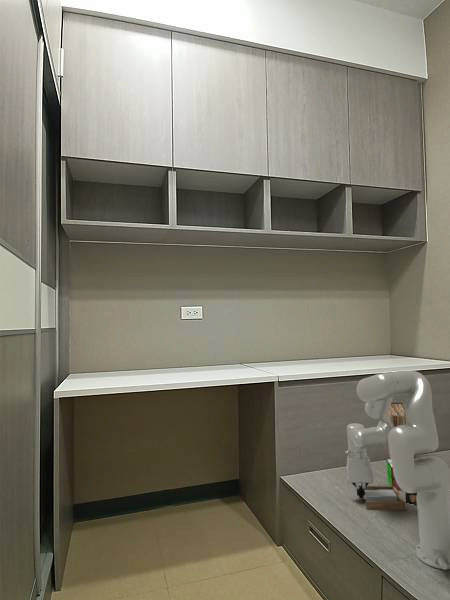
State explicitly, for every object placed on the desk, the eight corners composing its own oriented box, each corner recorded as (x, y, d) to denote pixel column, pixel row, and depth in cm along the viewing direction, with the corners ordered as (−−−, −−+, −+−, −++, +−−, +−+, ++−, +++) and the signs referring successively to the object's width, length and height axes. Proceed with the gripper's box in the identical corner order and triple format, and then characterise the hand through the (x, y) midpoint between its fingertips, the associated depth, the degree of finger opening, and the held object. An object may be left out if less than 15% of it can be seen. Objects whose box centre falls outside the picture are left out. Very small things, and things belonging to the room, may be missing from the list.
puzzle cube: (416, 490, 166) (415, 467, 167) (392, 490, 168) (390, 467, 169) (410, 481, 176) (408, 459, 177) (387, 480, 178) (386, 459, 179)
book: (418, 479, 177) (413, 414, 179) (397, 478, 180) (392, 414, 181) (406, 458, 202) (402, 402, 204) (388, 458, 204) (383, 402, 206)
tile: (397, 504, 156) (396, 496, 156) (382, 504, 157) (381, 496, 157) (393, 497, 162) (392, 489, 162) (378, 497, 163) (378, 489, 163)
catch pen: (405, 510, 151) (405, 502, 151) (366, 509, 153) (366, 501, 153) (395, 492, 166) (394, 485, 166) (359, 492, 168) (359, 485, 168)
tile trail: (382, 505, 156) (382, 496, 156) (367, 505, 157) (367, 496, 157) (379, 498, 162) (378, 490, 162) (364, 498, 163) (363, 490, 163)
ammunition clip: (405, 503, 156) (403, 474, 156) (406, 501, 157) (403, 472, 158) (435, 508, 151) (432, 478, 151) (435, 506, 152) (432, 476, 153)
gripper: (341, 457, 159) (344, 501, 158) (378, 456, 157) (381, 501, 156) (338, 450, 167) (341, 492, 166) (373, 450, 164) (377, 493, 163)
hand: (361, 497), depth 161 cm, fingers closed
